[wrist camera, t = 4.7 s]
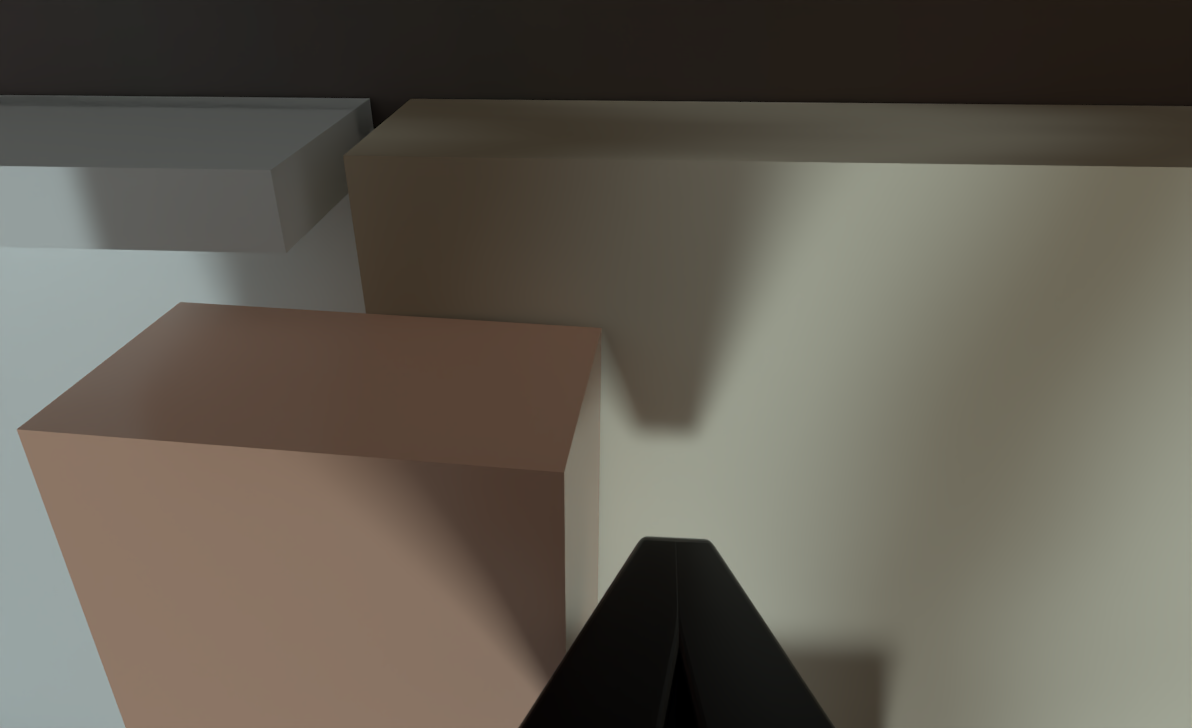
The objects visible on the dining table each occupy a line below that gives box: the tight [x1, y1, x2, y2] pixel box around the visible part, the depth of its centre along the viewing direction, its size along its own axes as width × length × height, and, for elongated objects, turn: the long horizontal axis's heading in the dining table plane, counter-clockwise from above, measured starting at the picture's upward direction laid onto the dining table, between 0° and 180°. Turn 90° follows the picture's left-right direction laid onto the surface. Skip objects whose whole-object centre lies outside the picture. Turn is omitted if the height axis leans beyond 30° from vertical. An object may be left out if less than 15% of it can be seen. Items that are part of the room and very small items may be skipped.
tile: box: [17, 302, 602, 728], centre depth 9 cm, size 4×4×2 cm
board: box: [343, 99, 1192, 728], centre depth 13 cm, size 14×15×2 cm
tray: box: [0, 95, 374, 728], centre depth 13 cm, size 9×15×3 cm, turn 1°
